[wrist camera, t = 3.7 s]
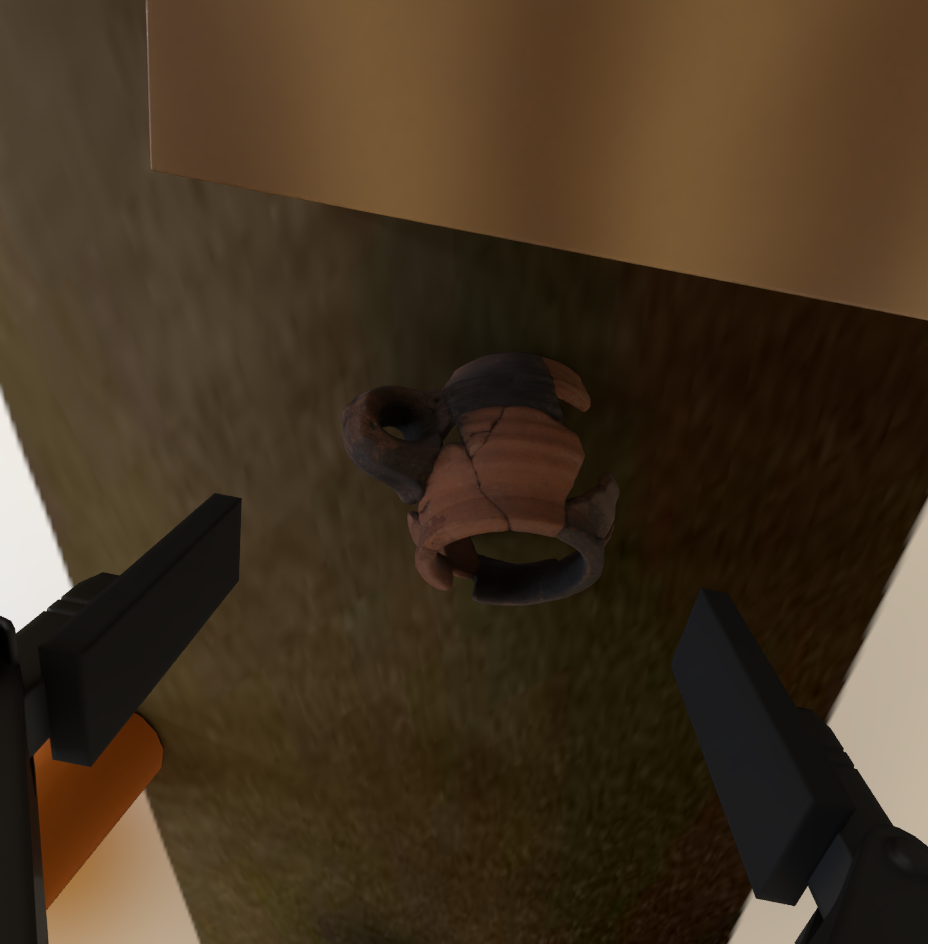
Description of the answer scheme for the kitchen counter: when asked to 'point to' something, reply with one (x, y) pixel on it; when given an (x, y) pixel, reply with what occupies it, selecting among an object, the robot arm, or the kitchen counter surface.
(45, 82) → the kitchen counter surface
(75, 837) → the spray bottle
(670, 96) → the tan open box
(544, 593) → the pottery mug
